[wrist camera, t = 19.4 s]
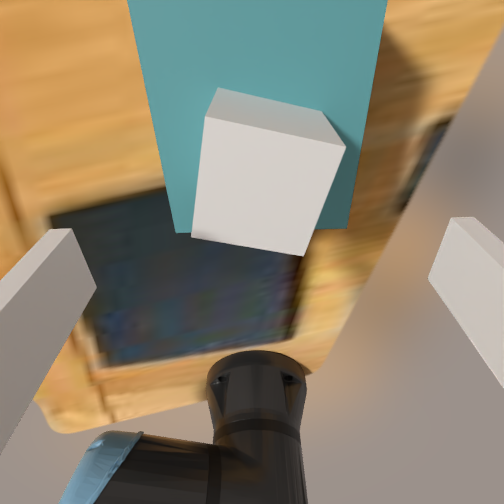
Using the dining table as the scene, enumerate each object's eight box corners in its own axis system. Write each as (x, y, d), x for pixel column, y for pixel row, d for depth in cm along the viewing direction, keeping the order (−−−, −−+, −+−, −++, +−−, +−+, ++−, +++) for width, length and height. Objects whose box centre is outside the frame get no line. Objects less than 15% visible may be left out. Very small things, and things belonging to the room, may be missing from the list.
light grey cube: (217, 87, 17) (204, 115, 13) (321, 111, 18) (346, 146, 13) (204, 186, 21) (190, 237, 16) (292, 202, 22) (303, 256, 17)
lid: (343, 221, 24) (346, 228, 23) (178, 225, 24) (175, 232, 23) (385, -28, 15) (393, -30, 14) (129, -18, 16) (123, -20, 15)
